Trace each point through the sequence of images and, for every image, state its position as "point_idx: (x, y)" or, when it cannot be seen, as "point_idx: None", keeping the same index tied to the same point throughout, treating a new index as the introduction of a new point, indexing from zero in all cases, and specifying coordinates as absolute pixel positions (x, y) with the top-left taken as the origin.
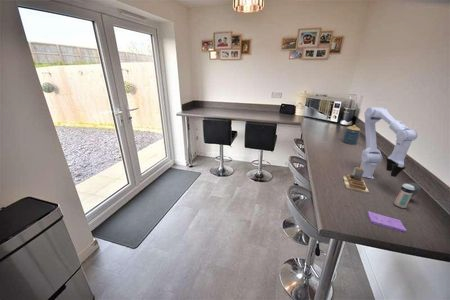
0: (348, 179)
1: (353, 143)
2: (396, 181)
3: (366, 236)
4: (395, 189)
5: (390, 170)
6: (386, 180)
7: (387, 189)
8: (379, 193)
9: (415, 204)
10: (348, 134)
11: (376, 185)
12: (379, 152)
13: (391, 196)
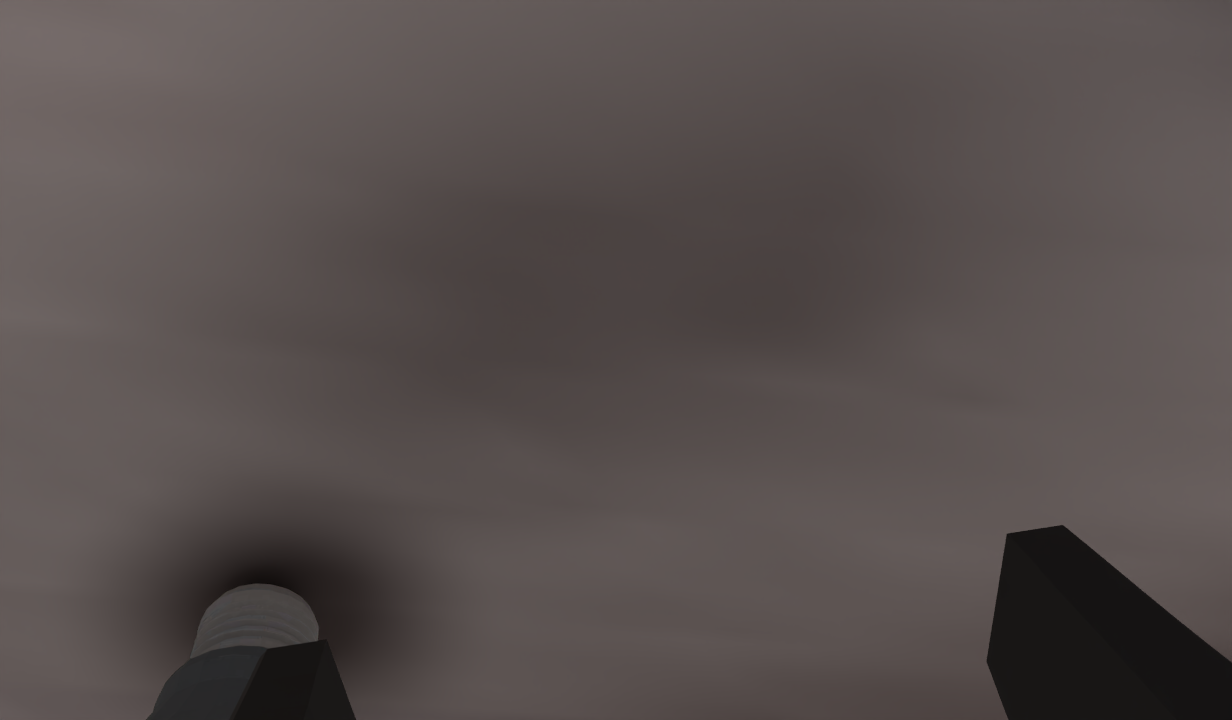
0: None
1: None
2: (1203, 511)
3: None
4: (692, 454)
5: (1003, 672)
6: (1187, 323)
7: (557, 288)
8: (33, 38)
9: (143, 691)
10: None
11: (658, 13)
12: None
13: (131, 334)
